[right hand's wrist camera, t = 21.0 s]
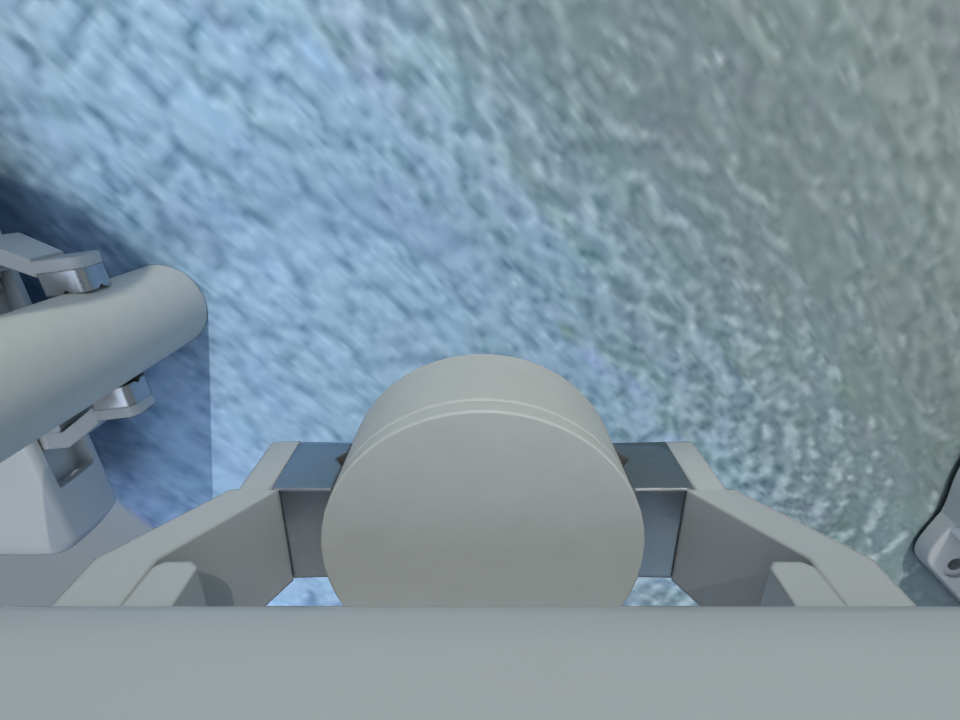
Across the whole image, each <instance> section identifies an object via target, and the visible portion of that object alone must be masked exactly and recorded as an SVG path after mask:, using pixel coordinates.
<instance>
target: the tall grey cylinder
mask: <svg viewBox="0 0 960 720" xmlns="http://www.w3.org/2000/svg"><path fill="white" fill-rule="evenodd" d="M109 279H110V281H111V284H110V285H107V286H101V287H99V288H98V289H95V290H92V291H88V292H83V293H77V294H74V293H72V294H71V293H66V294H63V295H59V296H56V297H53V298H50V299H47V300H44V301H41V302H38V303H35V304H32V305H29V306H26V307H23V308H20V309H17V310H14V311H11V312H8V313H5V314H2V315H0V463H1V462H3V461H4V460H6V459H8V458H9V457H11V456H12V455H14V454H15V453H17V452H18V451H20V450H22V449H23V448H25V447H26V446H28V445H29V444H31V443H33V442H34V441H36V440H37V439H39V438H40V437H42V436H43V435H45V434H47V433H48V432H50V431H51V430H53V429H54V428H56V427H58V426H59V425H61V424H62V423H64V422H65V421H67V420H68V419H70V418H72V417H73V416H75V415H76V414H78V413H79V412H81V411H83V410H84V409H86V408H87V407H89V406H90V405H92V404H93V403H95V402H97V401H98V400H100V399H101V398H103V397H104V396H106V395H108V394H109V393H111V392H112V391H114V390H115V389H117V388H119V387H120V386H122V385H123V384H125V383H126V382H128V381H129V380H131V379H133V378H134V377H136V376H137V375H139V374H140V373H142V372H144V371H145V370H147V369H148V368H150V367H151V366H153V365H154V364H156V363H158V362H159V361H161V360H162V359H164V358H165V357H167V356H169V355H170V354H172V353H173V352H175V351H176V350H178V349H179V348H181V347H183V346H184V345H186V344H187V343H189V342H190V341H192V340H193V339H195V338H196V337H197V336H198V335H199V334H200V333H201V332H202V330H203V328H204V326H205V323H206V319H207V307H206V303H205V299H204V297H203V295H202V293H201V291H200V289H199V288H198V287H197V285H196V284H195V283H194V282H193V281H192V280H191V279H190V278H189V277H188V276H186V275H185V274H183V273H182V272H180V271H178V270H176V269H174V268H171V267H168V266H163V265H149V266H145V267H142V268H139V269H136V270H133V271H130V272H127V273H124V274H121V275H118V276H115V277H112V278H109Z"/></svg>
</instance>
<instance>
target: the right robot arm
mask: <svg viewBox="0 0 960 720" xmlns="http://www.w3.org/2000/svg"><path fill="white" fill-rule="evenodd" d="M612 444H613V446H614V448H615V450H616V453H617V455H618V457H619V459H620V462H621V464H622V466H623V468H624V471H625V473H626V475H627V477H628V480H629V482H630V484H631V486H632V489H633V491H634V493H635V496H636V499H637V501H638V504H639V507H640V509H641V514H642V519H643V524H644V542H645V545H644V552H643V559H642V564H641V567H640V571H639V574H638V577H663V578H672V581H673V582H674V583H676V584H677V585H678V586H679V587H680V588H681V589H682V590H683V591H684V592H685V593H687V594H688V595H689V596H690V597H691V598H692V599H693V600H694V601H695V602H696V603H698V604H699V605H700V606H266V605H267V604H268V603H269V602H270V601H271V600H272V599H274V598H275V597H276V596H277V595H278V594H279V593H280V592H281V591H282V590H283V589H284V588H286V587H287V586H288V585H289V584H290V583H291V582H292V581H293V578H302V577H328V576H327V572H326V569H325V566H324V563H323V556H322V549H321V527H322V522H323V517H324V512H325V508H326V506H327V503H328V500H329V498H330V495H331V492H332V490H333V488H334V485H335V483H336V481H337V478H338V476H339V474H340V471H341V469H342V467H343V464H344V462H345V460H346V457H347V455H348V453H349V450H350V448H351V446H352V443H337V442H300V441H294V442H275V443H272V444H271V445H270V447H269V448H268V449H267V451H266V452H265V454H264V455H263V456H262V458H261V459H260V461H259V462H258V463H257V465H256V466H255V468H254V469H253V471H252V472H251V473H250V475H249V476H248V478H247V479H246V480H245V482H244V483H243V485H242V486H241V488H240V489H239V490H229V491H227V492H225V493H223V494H221V495H219V496H217V497H215V498H213V499H212V500H210V501H208V502H206V503H204V504H202V505H200V506H198V507H196V508H194V509H192V510H190V511H188V512H186V513H184V514H182V515H180V516H178V517H176V518H174V519H172V520H170V521H168V522H166V523H165V524H163V525H161V526H159V527H157V528H155V529H153V530H151V531H149V532H147V533H145V534H143V535H141V536H139V537H137V538H135V539H133V540H131V541H129V542H127V543H125V544H123V545H121V546H120V547H118V548H116V549H114V550H112V551H110V552H108V553H106V554H104V555H102V556H100V557H98V558H96V559H94V560H93V561H92V562H91V563H90V565H89V566H88V567H87V568H86V569H85V570H84V571H83V572H82V573H81V574H80V575H79V576H78V577H77V578H76V579H75V581H74V582H73V583H72V584H71V585H70V586H69V587H68V588H67V589H66V590H65V591H64V592H63V593H62V594H61V595H60V597H59V598H58V599H57V600H56V601H55V602H54V603H53V604H52V605H51V606H0V720H960V606H917V605H916V604H915V603H914V602H913V601H912V600H911V599H910V598H909V597H908V596H907V595H906V594H905V593H904V592H903V591H902V590H901V589H900V588H899V586H898V585H897V584H896V583H895V582H894V581H893V580H892V579H891V578H890V577H889V576H888V575H887V574H886V573H885V572H884V571H883V570H882V569H881V567H880V566H879V565H878V564H877V563H876V562H875V561H874V560H872V559H870V558H868V557H866V556H864V555H862V554H861V553H859V552H857V551H855V550H853V549H851V548H849V547H847V546H845V545H843V544H841V543H839V542H837V541H835V540H833V539H831V538H829V537H827V536H825V535H823V534H821V533H819V532H817V531H815V530H813V529H811V528H809V527H807V526H805V525H803V524H801V523H799V522H797V521H796V520H794V519H792V518H790V517H788V516H786V515H784V514H782V513H780V512H778V511H776V510H774V509H772V508H770V507H768V506H766V505H764V504H762V503H760V502H758V501H756V500H754V499H752V498H750V497H748V496H746V495H744V494H742V493H740V492H738V491H736V490H726V488H725V487H724V486H723V484H722V483H721V481H720V480H719V479H718V477H717V476H716V475H715V473H714V472H713V470H712V469H711V468H710V466H709V465H708V464H707V462H706V461H705V460H704V458H703V457H702V455H701V454H700V453H699V451H698V450H697V449H696V447H695V446H694V444H693V443H691V442H689V441H681V442H645V443H612ZM914 552H915V555H916V556H917V558H918V559H919V560H920V561H921V562H922V563H923V564H924V565H925V566H926V567H927V568H928V569H929V570H930V571H931V572H932V573H933V574H934V576H935V577H936V578H937V579H938V580H939V581H940V582H941V583H942V584H943V585H944V586H945V587H946V588H947V589H948V590H949V591H950V592H951V593H952V594H953V595H954V596H955V598H956V599H957V600H958V601H959V602H960V467H959V469H958V471H957V473H956V475H955V477H954V480H953V482H952V485H951V488H950V491H949V494H948V497H947V500H946V502H945V504H944V506H943V508H942V510H941V512H940V513H939V514H938V515H937V516H936V517H935V518H934V520H933V521H932V522H931V523H930V524H929V525H928V526H927V528H926V529H925V530H924V531H923V533H922V534H921V535H920V537H919V538H918V540H917V542H916V544H915V547H914Z"/></svg>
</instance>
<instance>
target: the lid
mask: <svg viewBox="0 0 960 720" xmlns="http://www.w3.org/2000/svg"><path fill="white" fill-rule="evenodd" d="M644 545H645V542H644V524H643V519H642V514H641V509H640V507H639V504H638V501H637V499H636V496H635V493H634V491H633V489H632V486H631V484H630V482H629V480H628V477H627V475H626V473H625V471H624V468H623V466H622V464H621V462H620V459H619V457H618V455H617V453H616V450H615V448H614V446H613V444H612V441H611V439H610V437H609V435H608V432H607V430H606V428H605V425H604V423H603V422H602V420H601V418H600V416H599V415H598V413H597V411H596V410H595V408H594V407H593V406H592V404H591V403H590V402H589V400H588V399H587V398H586V397H585V396H584V395H583V394H582V393H581V392H580V391H579V390H578V389H577V388H576V387H575V386H574V385H572V384H571V383H569V382H568V381H567V380H565V379H564V378H563V377H561V376H560V375H558V374H556V373H554V372H552V371H550V370H549V369H547V368H545V367H542V366H540V365H537V364H535V363H532V362H530V361H526V360H522V359H518V358H514V357H510V356H502V355H494V354H471V355H463V356H455V357H450V358H447V359H443V360H439V361H435V362H433V363H430V364H428V365H425V366H422V367H420V368H418V369H416V370H414V371H412V372H411V373H409V374H407V375H405V376H404V377H402V378H401V379H399V380H398V381H397V382H395V383H394V384H393V385H391V386H390V387H389V388H388V389H387V390H386V391H385V392H384V393H383V394H382V395H381V396H380V397H379V398H378V399H377V400H376V401H375V403H374V404H373V405H372V407H371V408H370V409H369V410H368V412H367V414H366V416H365V418H364V419H363V421H362V423H361V425H360V427H359V429H358V432H357V434H356V436H355V439H354V441H353V443H352V446H351V448H350V450H349V453H348V455H347V457H346V460H345V462H344V464H343V467H342V469H341V471H340V474H339V476H338V478H337V481H336V483H335V485H334V488H333V490H332V492H331V495H330V498H329V500H328V503H327V506H326V508H325V512H324V517H323V522H322V527H321V549H322V556H323V563H324V566H325V569H326V572H327V576H328V579H329V581H330V583H331V585H332V587H333V589H334V591H335V593H336V595H337V597H338V598H339V600H340V601H341V603H342V604H343V606H622V605H623V603H624V602H625V600H626V599H627V597H628V596H629V594H630V592H631V590H632V588H633V586H634V584H635V582H636V580H637V577H638V574H639V571H640V567H641V564H642V559H643V552H644Z"/></svg>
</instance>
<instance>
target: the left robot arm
mask: <svg viewBox="0 0 960 720" xmlns="http://www.w3.org/2000/svg"><path fill="white" fill-rule="evenodd" d="M18 271H19V272H22V273H24V274H27V275H30V276H33V277H36V278H38V279H39V281H40V283H41V285H42V288H43V290H44V292H45V294H46V296H47V297H50V296H59V295H63V294H66V293H71V294H72V293H74V294H77V293H83V292H88V291H92V290H95V289H98V288H99V287H101V286H107V285H110V284H111V281H110V279H109V276H108V273H107V270H106V267H105V264H104V262H103V260H102V257H101V254H100V252H99V250H92V251H84V252H75V253H67V254H64V253H63V251H62V250H59V249H57V248H55V247H52V246H50V245H48V244H45V243H43V242H40V241H38V240H36V239H33V238H31V237H29V236H26V235H24V234H22V233H19V232H17V233H9V234H2V233H1V230H0V315H2V314H5V313H8V312H11V311H14V310H17V309H20V308H23V307H26V306H29V305H32V302H31V299H30V297H29V295H28V293H27V290H26V288H25V286H24V283H23V281H22V279H21V276H20V274H19V272H18ZM154 403H155V399H154V396H153V394H152V391H151V389H150V386H149V384H148V381H147V379H146V376H145V374H144V373H140V374H139V375H137V376H136V377H134V378H133V379H131V380H129V381H128V382H126V383H125V384H123V385H122V386H120V387H119V388H117V389H115V390H114V391H112V392H111V393H109V394H108V395H106V396H104V397H103V398H101V399H100V400H98V401H97V402H95V403H93V404H92V406H91V405H90V406H89V407H87V408H86V409H84V410H83V411H81V412H79V413H78V414H76V415H75V416H73V417H72V418H70V419H68V420H67V421H65V422H64V423H62V424H61V425H59V426H58V427H56V428H54V429H53V430H51V431H50V432H48V433H47V434H45V435H43V436H42V437H40V438H39V439H37V440H36V441H34V442H33V443H31V444H29V445H28V446H26V447H25V448H23V449H22V450H20V451H18V452H17V453H15V454H14V455H12V456H11V457H9V458H8V459H6V460H4V461H3V462H1V463H0V555H47V554H57V553H61V552H64V551H66V550H68V549H70V548H71V547H73V546H74V545H76V544H77V543H78V542H79V541H81V540H82V539H83V538H84V537H85V536H86V535H87V534H89V533H90V532H91V531H92V530H93V529H94V528H95V527H96V526H97V525H98V524H99V523H100V522H101V520H102V519H103V518H104V517H105V516H106V514H107V513H108V512H109V511H110V509H111V508H112V507H113V505H114V503H115V500H116V497H115V493H114V491H113V488H112V486H111V484H110V481H109V479H108V477H107V475H106V472H105V470H104V468H103V466H102V463H101V461H100V459H99V456H98V454H97V452H96V449H95V447H94V445H93V443H92V440H91V438H90V436H89V433H90V432H92V431H93V430H95V429H96V428H97V427H99V426H100V425H102V424H103V423H104V422H105V421H106V420H110V419H120V418H129V417H133V416H136V415H138V414H140V413H142V412H144V411H145V410H146V409H148V408H149V407H150V406H152V405H153V404H154ZM92 407H93V408H92Z"/></svg>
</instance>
